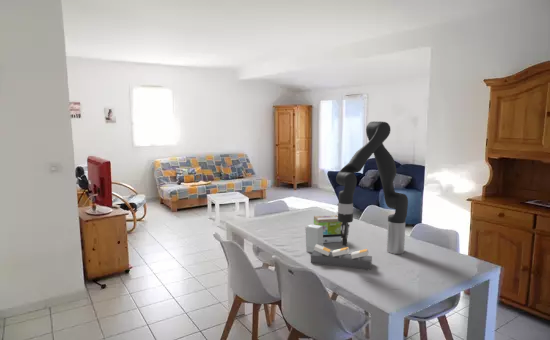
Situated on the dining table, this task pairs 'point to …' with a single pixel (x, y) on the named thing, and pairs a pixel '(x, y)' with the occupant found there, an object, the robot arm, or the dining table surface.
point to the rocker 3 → (359, 253)
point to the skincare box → (313, 237)
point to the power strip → (342, 260)
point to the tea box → (329, 227)
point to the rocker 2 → (340, 251)
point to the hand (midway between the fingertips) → (344, 245)
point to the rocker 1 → (322, 249)
